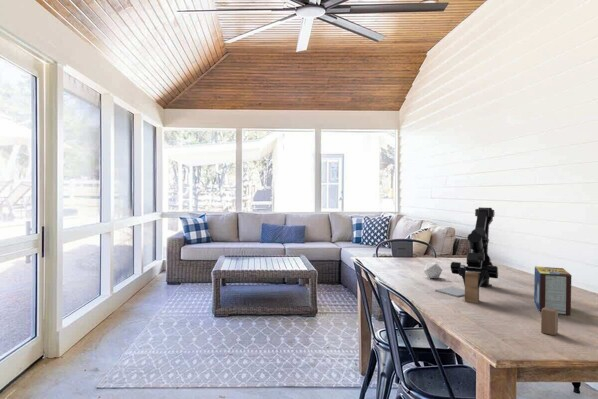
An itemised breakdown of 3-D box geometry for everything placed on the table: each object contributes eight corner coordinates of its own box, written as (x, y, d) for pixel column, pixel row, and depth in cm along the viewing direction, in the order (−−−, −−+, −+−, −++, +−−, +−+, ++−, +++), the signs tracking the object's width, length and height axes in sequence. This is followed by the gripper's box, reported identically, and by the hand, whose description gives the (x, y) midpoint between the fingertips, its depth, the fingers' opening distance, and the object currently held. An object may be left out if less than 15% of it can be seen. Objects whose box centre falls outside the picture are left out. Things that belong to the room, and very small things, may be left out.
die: (439, 281, 206) (447, 265, 209) (423, 272, 207) (431, 256, 210) (433, 284, 214) (441, 268, 217) (418, 275, 215) (426, 259, 218)
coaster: (452, 287, 190) (452, 286, 190) (474, 293, 180) (474, 292, 180) (435, 291, 184) (435, 289, 184) (457, 297, 173) (457, 295, 173)
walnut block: (466, 298, 171) (467, 271, 171) (479, 300, 168) (479, 272, 168) (464, 301, 167) (465, 273, 166) (477, 303, 164) (477, 274, 164)
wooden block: (544, 330, 132) (544, 306, 132) (558, 333, 129) (558, 309, 129) (540, 332, 130) (541, 308, 130) (554, 336, 127) (555, 311, 127)
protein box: (562, 305, 162) (563, 267, 162) (571, 316, 148) (572, 275, 148) (533, 302, 166) (534, 265, 166) (538, 312, 152) (539, 272, 152)
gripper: (451, 243, 175) (445, 272, 166) (498, 247, 165) (494, 278, 156) (454, 258, 182) (449, 287, 173) (499, 262, 172) (496, 293, 163)
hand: (471, 286), depth 166 cm, fingers closed on walnut block, 5 cm apart
